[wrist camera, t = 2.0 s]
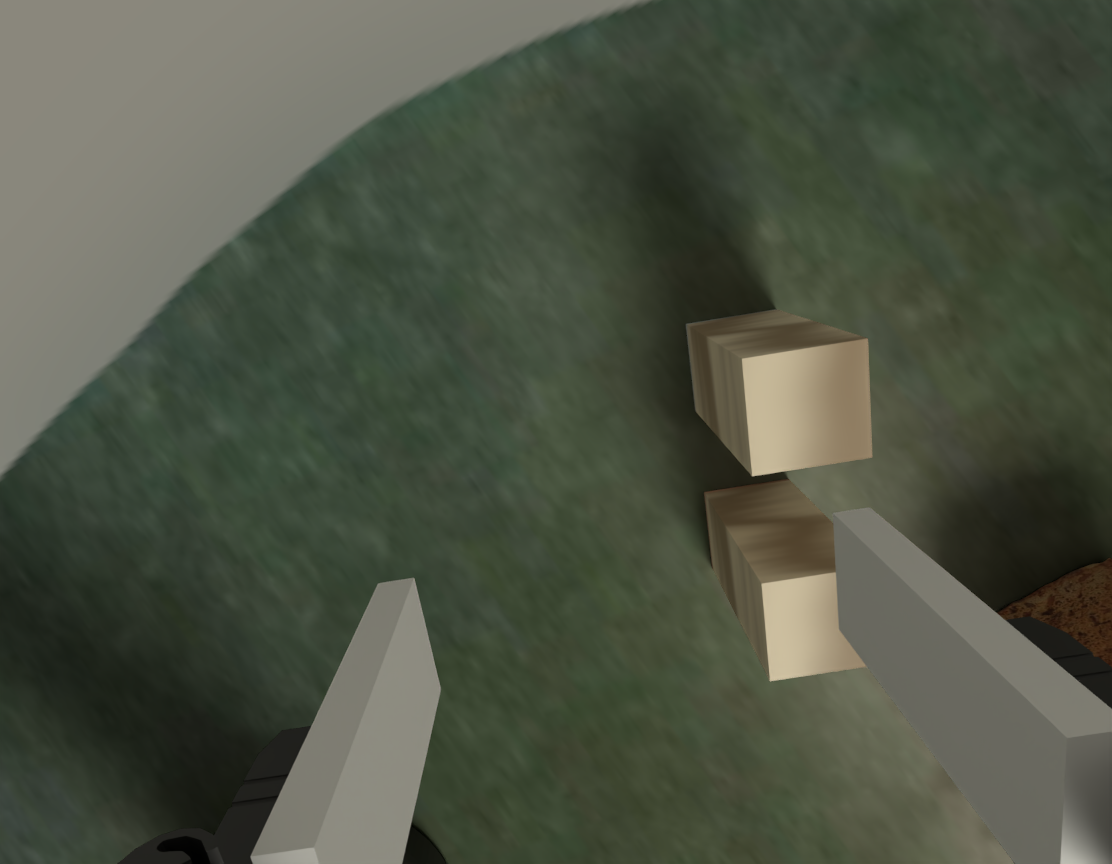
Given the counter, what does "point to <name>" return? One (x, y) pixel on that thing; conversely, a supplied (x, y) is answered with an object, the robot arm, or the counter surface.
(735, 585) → the light wood tall block
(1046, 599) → the bread
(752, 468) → the light wood rectangular bar
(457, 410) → the counter surface
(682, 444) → the counter surface
